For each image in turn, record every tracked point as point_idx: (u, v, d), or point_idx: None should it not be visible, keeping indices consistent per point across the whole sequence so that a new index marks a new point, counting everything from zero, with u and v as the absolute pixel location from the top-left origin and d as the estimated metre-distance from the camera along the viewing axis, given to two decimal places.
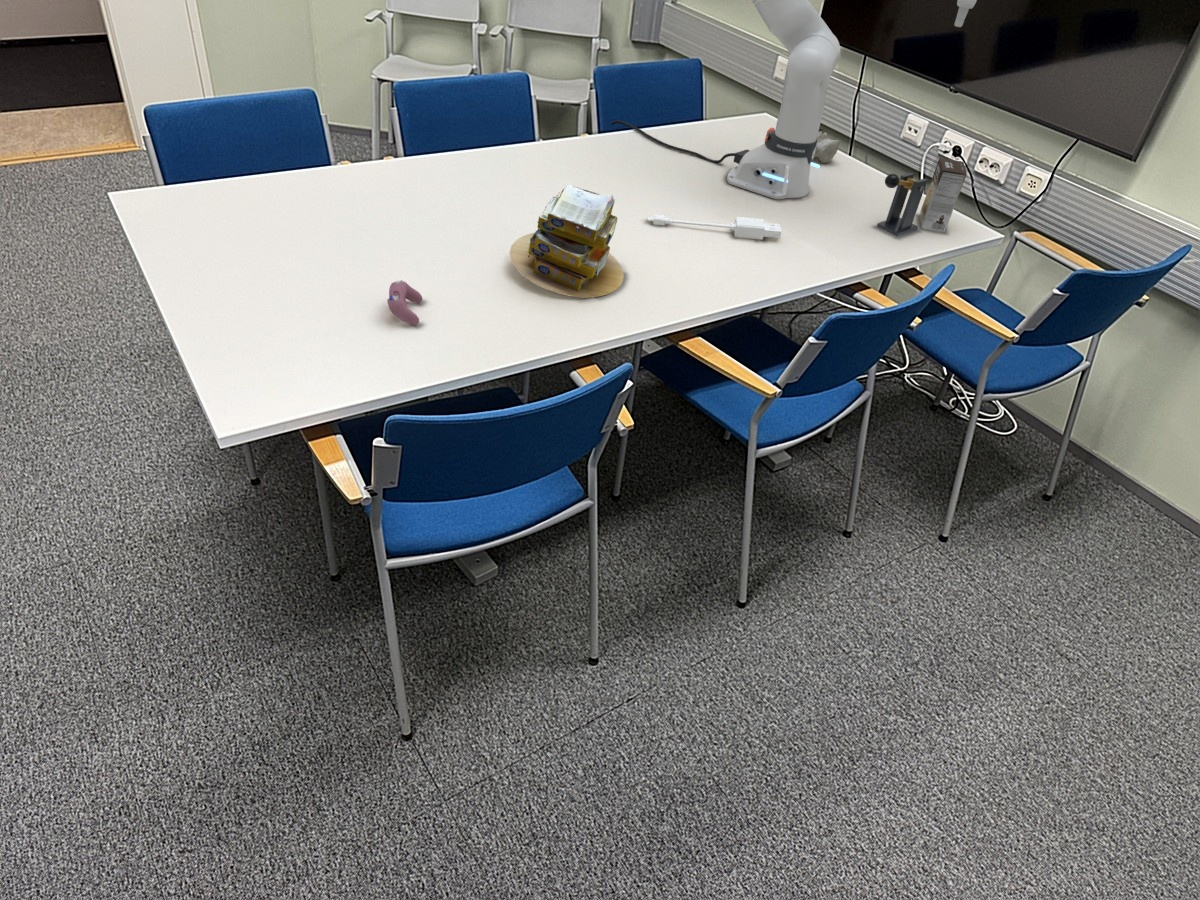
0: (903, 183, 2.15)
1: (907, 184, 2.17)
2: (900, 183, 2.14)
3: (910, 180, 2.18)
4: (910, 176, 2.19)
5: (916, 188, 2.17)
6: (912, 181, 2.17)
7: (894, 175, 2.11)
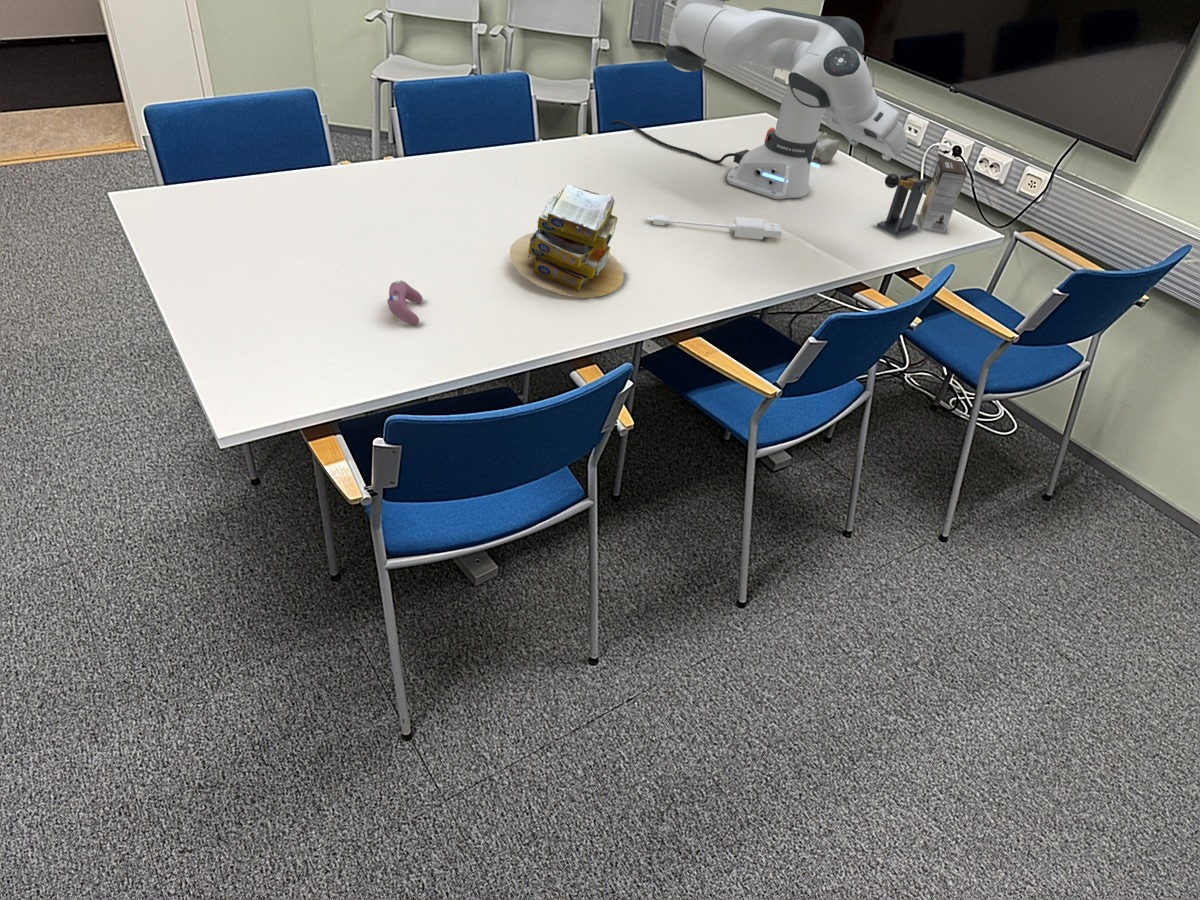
0: (903, 183, 2.15)
1: (907, 184, 2.17)
2: (900, 183, 2.14)
3: (910, 180, 2.18)
4: (910, 176, 2.19)
5: (916, 188, 2.17)
6: (912, 181, 2.17)
7: (894, 175, 2.11)
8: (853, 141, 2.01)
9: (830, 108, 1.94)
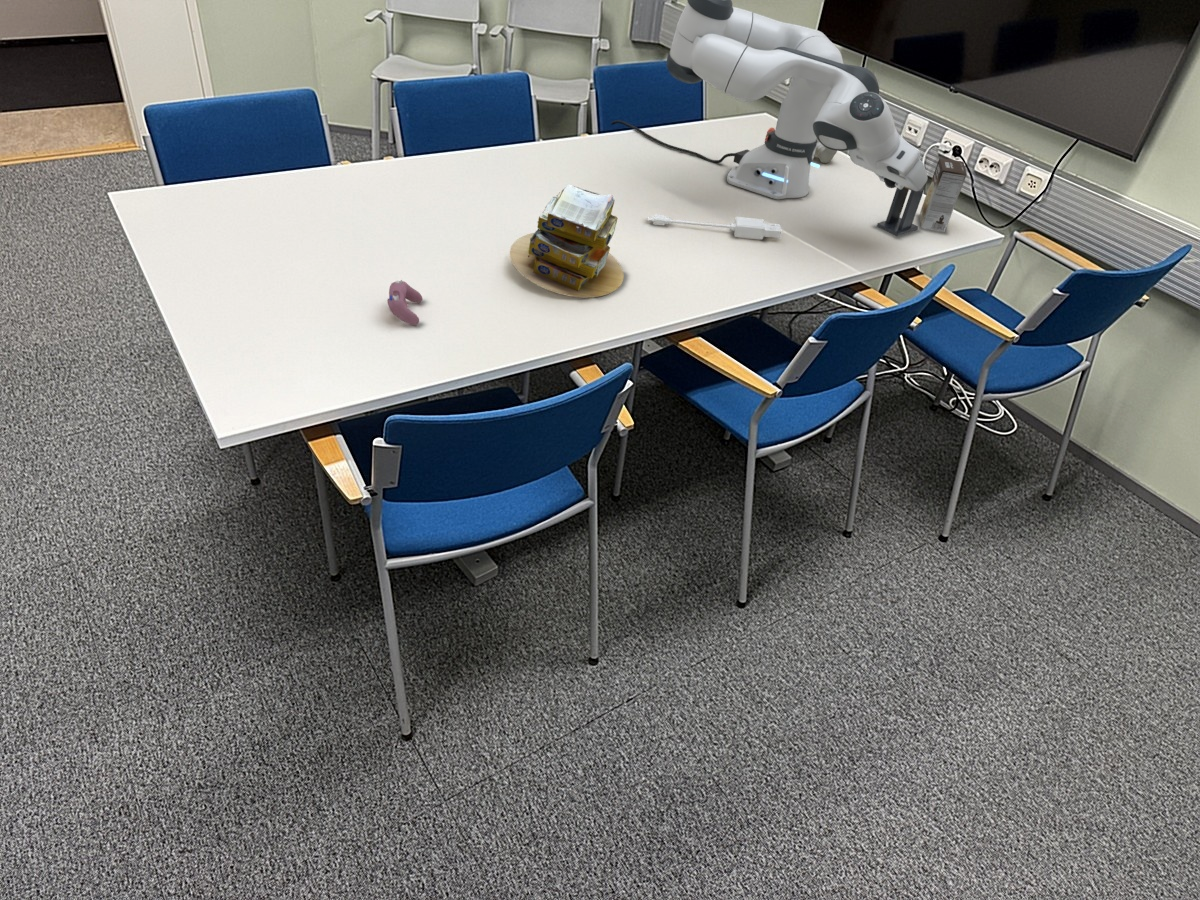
0: None
1: None
2: None
3: None
4: None
5: None
6: None
7: None
8: (883, 178, 2.13)
9: None
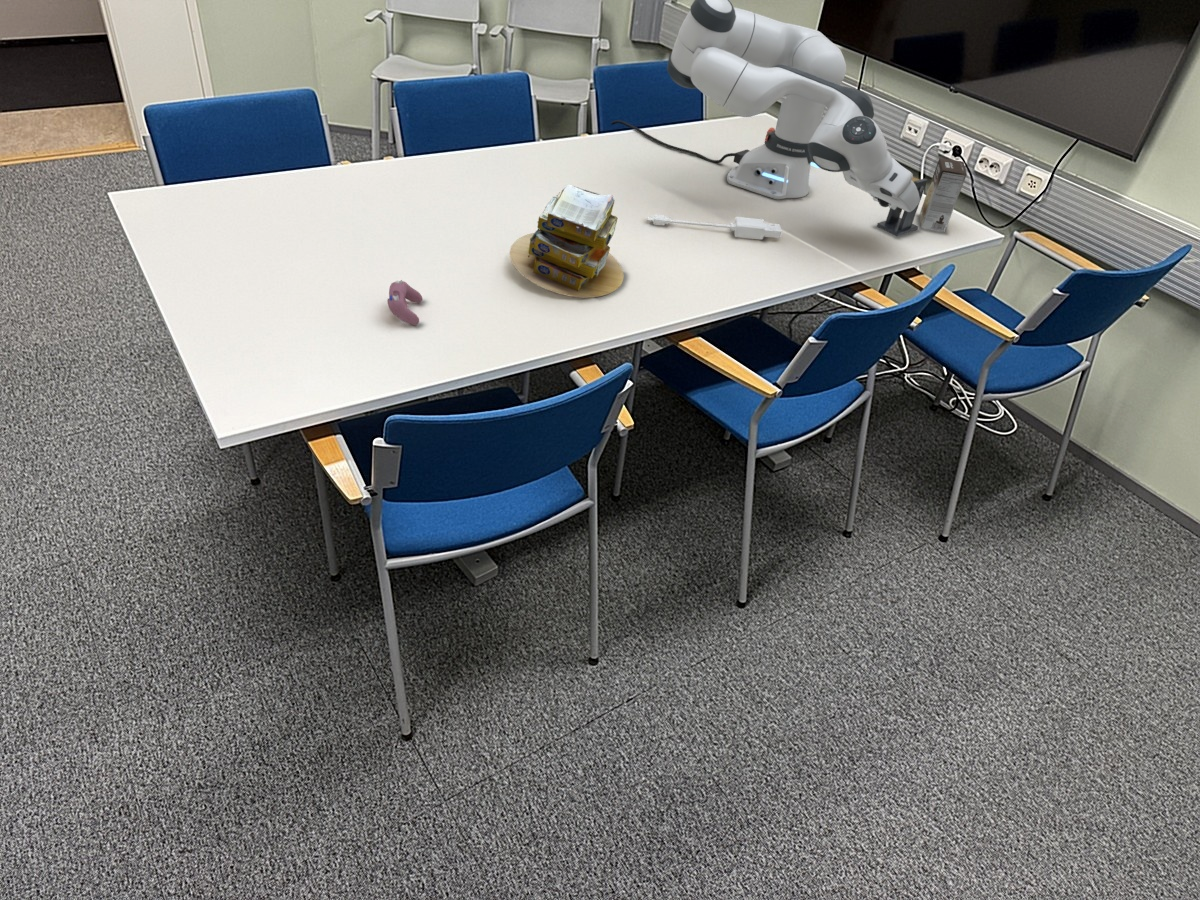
0: None
1: None
2: None
3: None
4: None
5: None
6: None
7: None
8: (877, 198, 2.16)
9: None
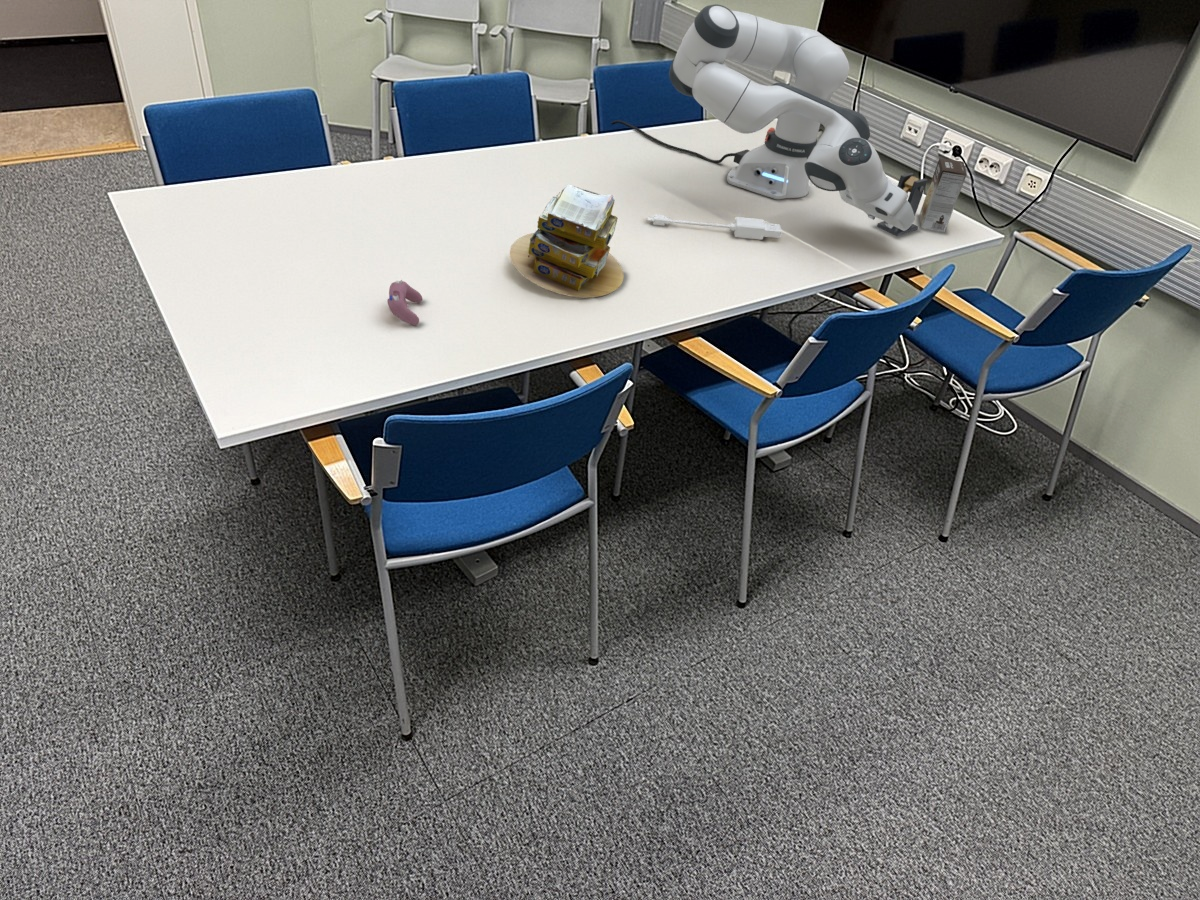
0: None
1: None
2: None
3: (907, 185, 2.18)
4: (910, 176, 2.19)
5: (916, 188, 2.17)
6: (909, 186, 2.18)
7: None
8: (871, 215, 2.20)
9: None
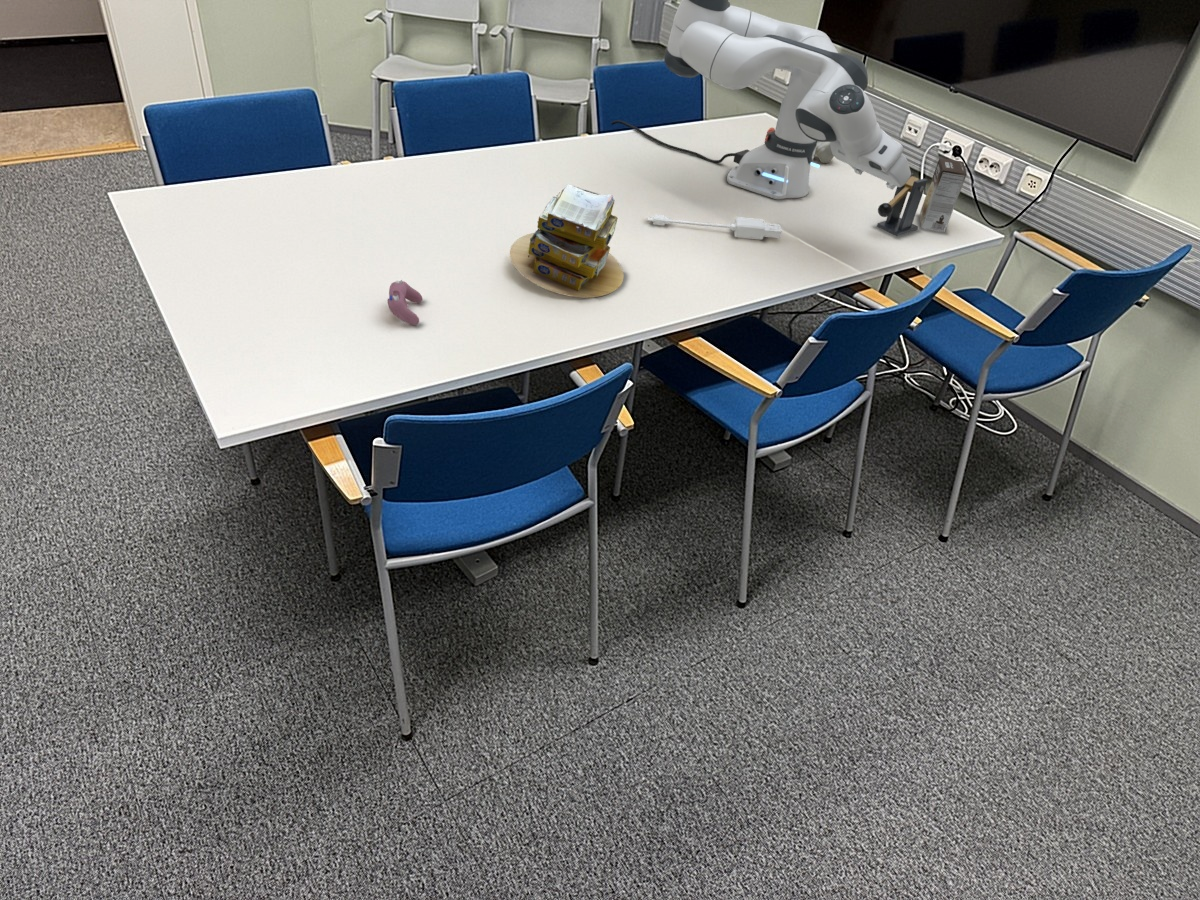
0: (899, 198, 2.18)
1: (905, 193, 2.18)
2: (895, 202, 2.18)
3: (907, 185, 2.18)
4: (910, 176, 2.19)
5: (916, 188, 2.17)
6: (909, 186, 2.18)
7: (883, 208, 2.16)
8: (858, 170, 2.08)
9: (836, 140, 2.02)
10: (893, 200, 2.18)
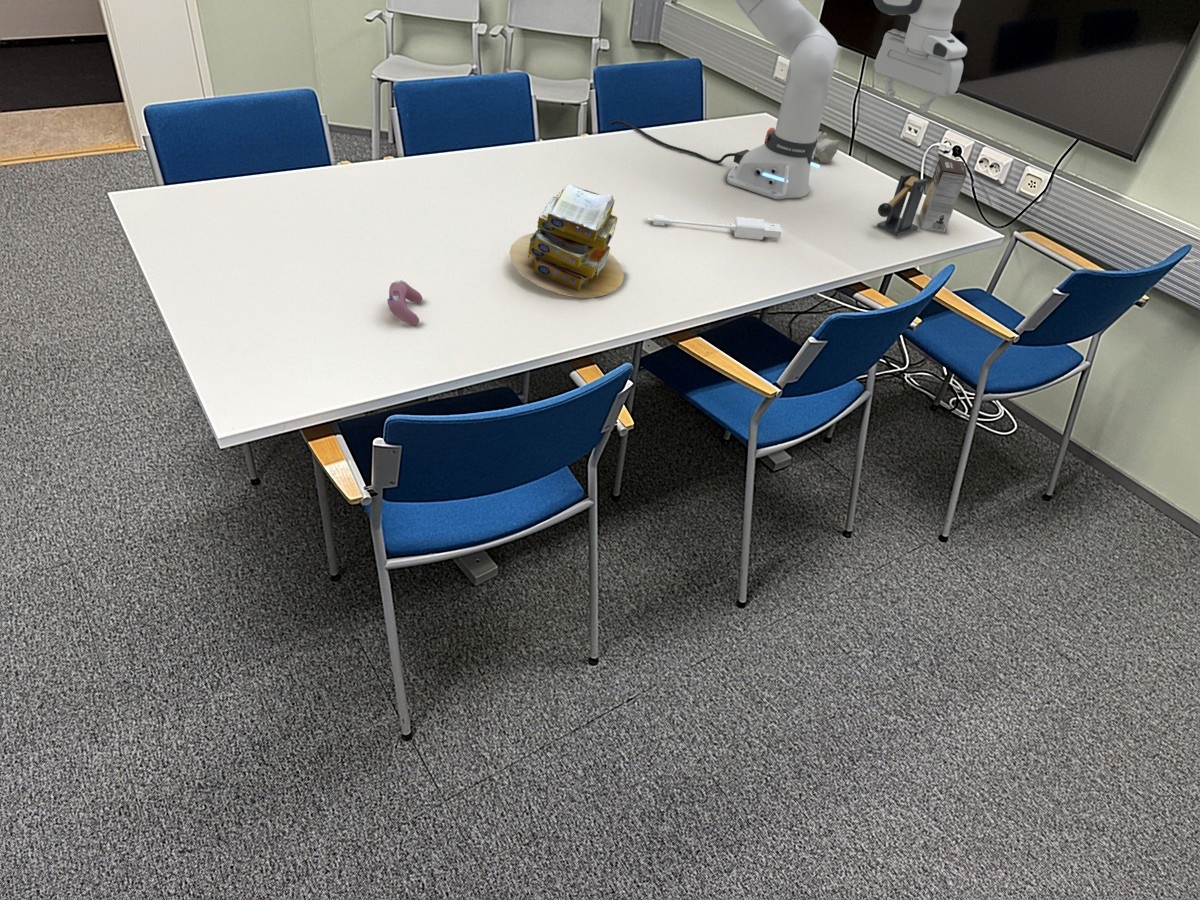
0: (899, 198, 2.18)
1: (905, 193, 2.18)
2: (895, 202, 2.18)
3: (907, 185, 2.18)
4: (910, 176, 2.19)
5: (916, 188, 2.17)
6: (909, 186, 2.18)
7: (883, 208, 2.16)
8: (891, 91, 1.99)
9: (892, 38, 1.95)
10: (893, 200, 2.18)
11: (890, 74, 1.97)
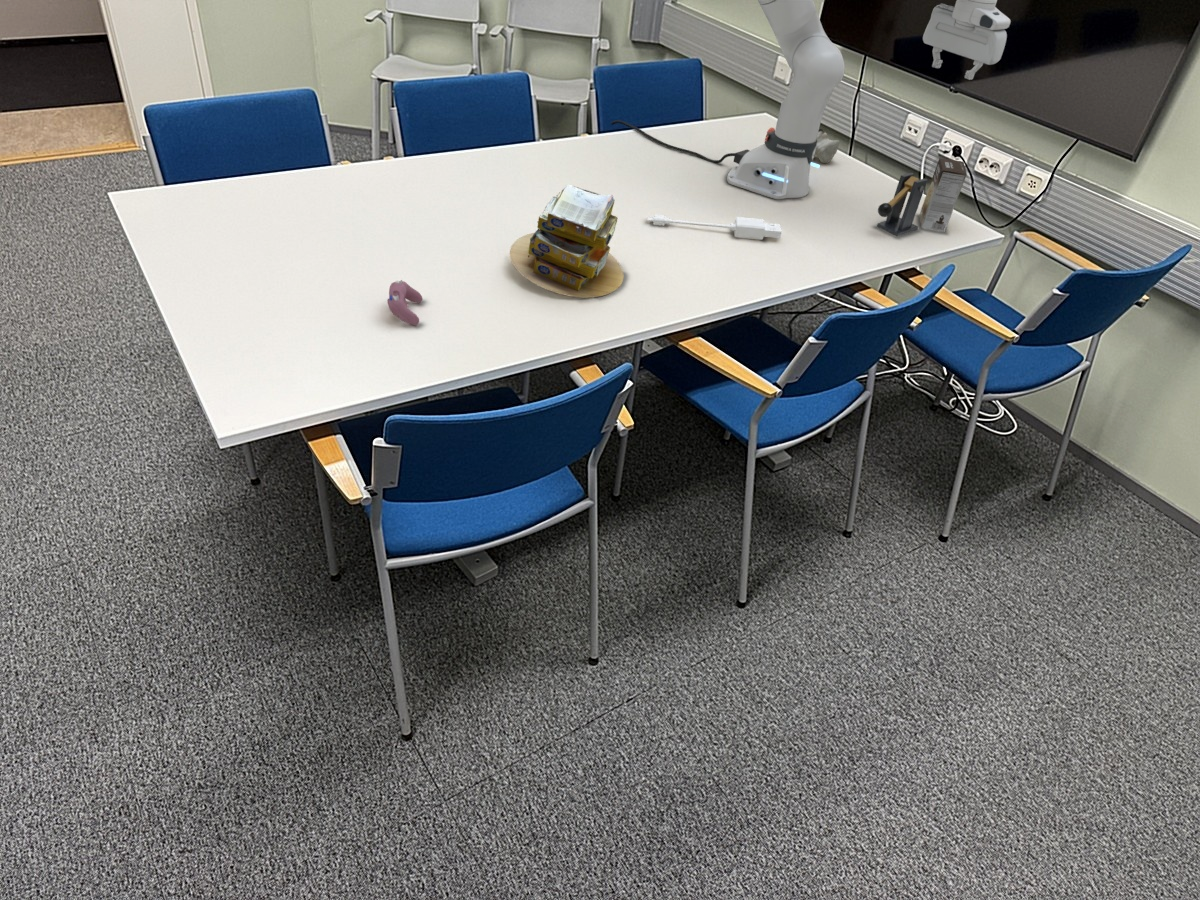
0: (899, 198, 2.18)
1: (905, 193, 2.18)
2: (895, 202, 2.18)
3: (907, 185, 2.18)
4: (910, 176, 2.19)
5: (916, 188, 2.17)
6: (909, 186, 2.18)
7: (883, 208, 2.16)
8: (938, 61, 2.18)
9: (941, 12, 2.13)
10: (893, 200, 2.18)
11: (938, 45, 2.16)
